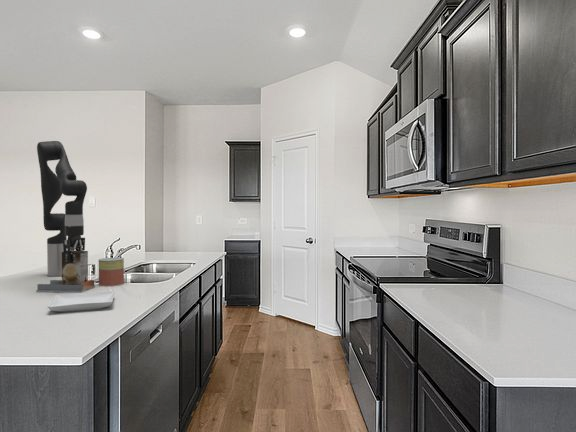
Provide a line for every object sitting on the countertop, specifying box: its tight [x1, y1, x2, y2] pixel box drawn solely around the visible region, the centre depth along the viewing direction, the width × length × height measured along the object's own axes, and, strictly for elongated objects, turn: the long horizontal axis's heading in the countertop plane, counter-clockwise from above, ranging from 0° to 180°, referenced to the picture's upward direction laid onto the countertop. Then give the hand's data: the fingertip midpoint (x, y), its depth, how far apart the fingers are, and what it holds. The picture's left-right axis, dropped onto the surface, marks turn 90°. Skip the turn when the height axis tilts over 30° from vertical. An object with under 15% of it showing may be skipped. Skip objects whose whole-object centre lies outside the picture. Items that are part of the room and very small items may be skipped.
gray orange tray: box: [36, 279, 96, 294], centre depth 187 cm, size 12×20×4 cm, turn 88°
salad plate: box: [47, 290, 115, 313], centre depth 158 cm, size 21×21×3 cm
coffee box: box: [61, 250, 89, 284], centre depth 186 cm, size 9×6×16 cm
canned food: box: [98, 257, 125, 287], centre depth 200 cm, size 11×11×12 cm
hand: (74, 261), depth 186 cm, fingers closed on coffee box, 6 cm apart
